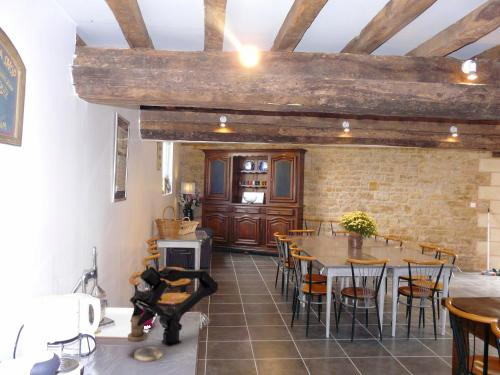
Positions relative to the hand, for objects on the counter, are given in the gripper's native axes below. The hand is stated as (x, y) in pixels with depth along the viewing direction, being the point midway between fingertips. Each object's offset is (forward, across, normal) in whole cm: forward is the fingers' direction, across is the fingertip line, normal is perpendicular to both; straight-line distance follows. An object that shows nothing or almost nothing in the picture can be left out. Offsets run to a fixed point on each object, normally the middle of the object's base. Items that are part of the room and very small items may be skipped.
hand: (134, 323), depth 173 cm
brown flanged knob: (+4, 0, +6) cm, 7 cm away
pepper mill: (-5, -24, +25) cm, 35 cm away
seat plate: (+7, +4, +12) cm, 15 cm away
